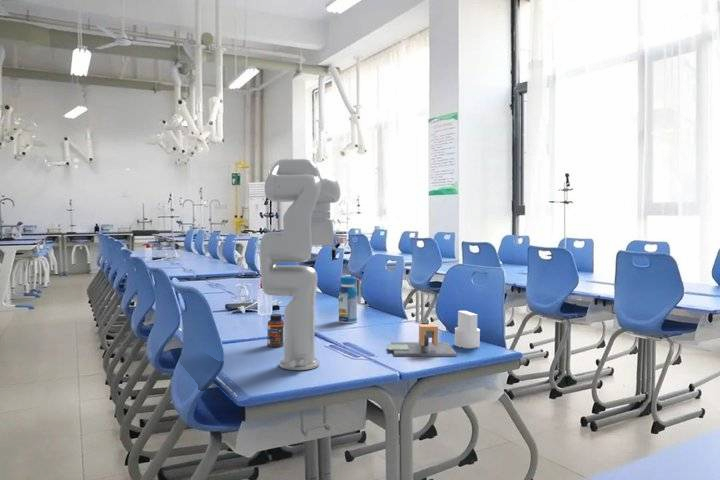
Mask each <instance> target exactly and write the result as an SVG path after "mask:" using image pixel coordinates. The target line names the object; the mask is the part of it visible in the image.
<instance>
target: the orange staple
mask: <svg viewBox="0 0 720 480" xmlns="http://www.w3.org/2000/svg"><path fill="white" fill-rule="evenodd" d="M424 331H432V332H433V333H432V338H431V342H432V344H433V346H438V342H439V339H438V338H439V326H438V325H437V324H436V323H434V324H432V323H431V324H421V323H419V324H418V342H419V344H420V346H424Z"/></svg>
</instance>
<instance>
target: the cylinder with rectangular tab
mask: <svg viewBox="0 0 720 480" xmlns="http://www.w3.org/2000/svg"><path fill="white" fill-rule="evenodd" d="M480 336H481V329H480V328H478V314H477V313H474V312H470V311H468V310H458V311H457V327H455V328H454V346H455V347H457V346H458V348H461V347H463V349H476V347H477V348H480V346H481V345H480V341H481V340H480V339H481V338H480Z"/></svg>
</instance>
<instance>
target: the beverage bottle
mask: <svg viewBox="0 0 720 480" xmlns="http://www.w3.org/2000/svg"><path fill="white" fill-rule="evenodd" d="M339 281H340V285H341V286H340V288H339V290H338V294H339V296H338V299H337V300H338V322H339V323H342V324H354V323H357V322H358V290H357V288H356V286H355V285H356V284H357V283H356V282H357V279H356V276H349V275H347V276H346V275H345V276H340V280H339Z"/></svg>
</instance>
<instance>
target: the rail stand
mask: <svg viewBox="0 0 720 480" xmlns="http://www.w3.org/2000/svg"><path fill="white" fill-rule="evenodd" d="M420 324H429V321H420ZM432 333H433V332H432V331H424V346H420V344H419V341H418V342H417V341H415V342H414V341H413V342H412V341H411V342H409V341H408V342H407V341H405V342H404V341H401V342H398V341H396V342H395V341H394V342H393V341H391V342H390V344H389V343H388V344H387V347H388V350H389V351H392V354H393V356H394V357H457V352H456V351H455V349H454V348H453V346H451V344H450V343H449V342H447V341H446V342H445V341H444V342H439V341H438V346H433V344H432V341H431V342H430V341H429V338H430V339H432Z"/></svg>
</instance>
